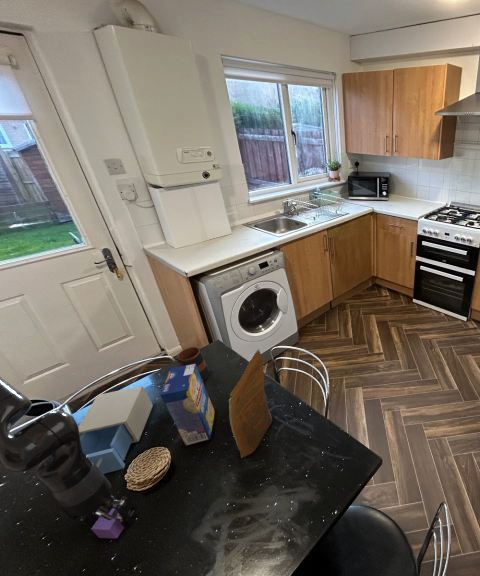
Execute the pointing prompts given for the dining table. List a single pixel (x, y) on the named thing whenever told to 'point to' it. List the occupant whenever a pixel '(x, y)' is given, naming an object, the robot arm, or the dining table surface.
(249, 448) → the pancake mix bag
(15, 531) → the dining table surface
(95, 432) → the drawer
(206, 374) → the mug
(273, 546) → the dining table surface
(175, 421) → the blue cereal box
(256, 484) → the dining table surface
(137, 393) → the cabinet
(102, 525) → the block
